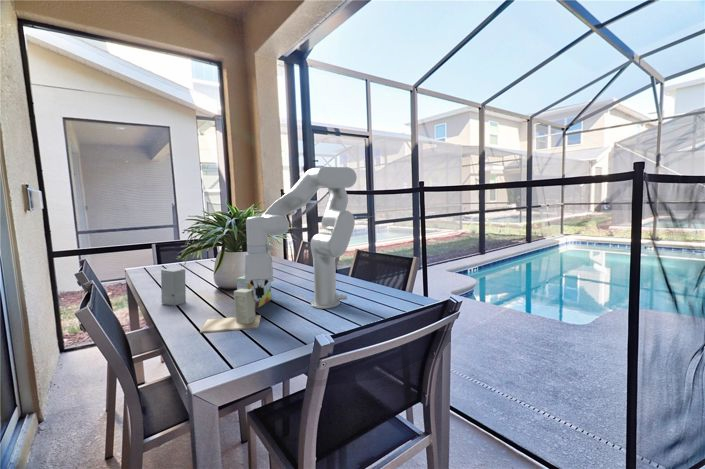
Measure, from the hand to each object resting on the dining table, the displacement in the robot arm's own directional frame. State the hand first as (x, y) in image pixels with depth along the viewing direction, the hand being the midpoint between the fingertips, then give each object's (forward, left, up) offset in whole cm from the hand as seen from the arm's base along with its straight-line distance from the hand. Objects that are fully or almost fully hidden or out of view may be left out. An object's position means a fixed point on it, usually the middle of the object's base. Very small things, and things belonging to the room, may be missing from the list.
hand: (260, 297), depth 130 cm
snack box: (+4, -20, -10) cm, 23 cm away
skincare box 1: (+41, -34, -10) cm, 54 cm away
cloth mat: (+11, 0, -10) cm, 14 cm away
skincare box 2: (+6, 0, -9) cm, 11 cm away
